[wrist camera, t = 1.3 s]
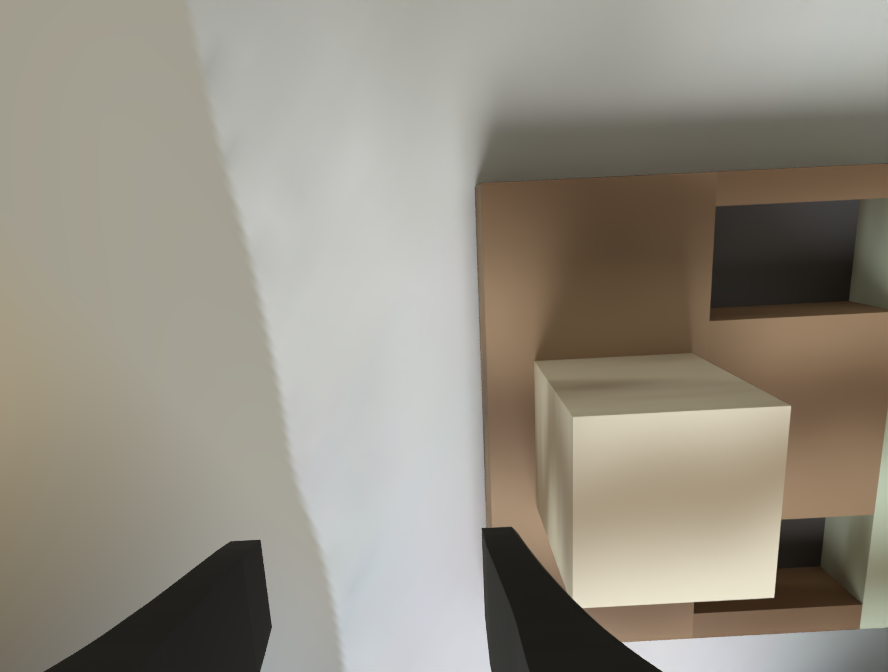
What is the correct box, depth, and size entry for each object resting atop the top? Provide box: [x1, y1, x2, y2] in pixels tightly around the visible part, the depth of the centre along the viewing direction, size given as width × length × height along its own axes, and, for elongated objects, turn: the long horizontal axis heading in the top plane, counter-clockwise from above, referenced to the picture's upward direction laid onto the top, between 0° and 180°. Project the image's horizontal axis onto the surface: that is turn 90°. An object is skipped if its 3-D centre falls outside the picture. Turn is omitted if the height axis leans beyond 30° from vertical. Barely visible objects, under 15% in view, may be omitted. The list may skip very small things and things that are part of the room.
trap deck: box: [475, 163, 888, 642], centre depth 19 cm, size 16×20×2 cm
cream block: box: [534, 353, 791, 608], centre depth 16 cm, size 5×5×5 cm
